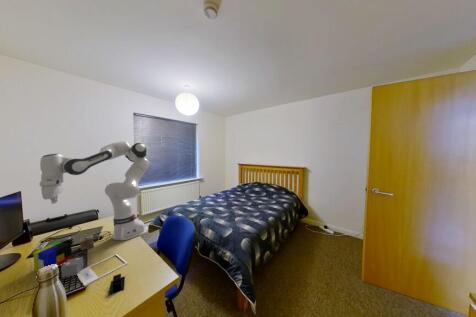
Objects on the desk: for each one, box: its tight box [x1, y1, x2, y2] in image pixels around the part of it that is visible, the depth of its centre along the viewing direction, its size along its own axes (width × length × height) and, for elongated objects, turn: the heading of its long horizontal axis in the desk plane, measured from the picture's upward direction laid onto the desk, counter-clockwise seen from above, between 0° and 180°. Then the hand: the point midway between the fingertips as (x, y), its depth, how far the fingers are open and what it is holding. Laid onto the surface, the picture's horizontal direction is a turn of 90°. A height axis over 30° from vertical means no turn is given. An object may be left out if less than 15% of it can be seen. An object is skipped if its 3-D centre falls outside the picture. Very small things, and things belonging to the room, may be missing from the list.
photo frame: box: [76, 253, 128, 287], centre depth 87 cm, size 15×1×18 cm
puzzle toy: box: [32, 241, 73, 272], centre depth 90 cm, size 10×10×10 cm
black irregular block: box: [108, 273, 126, 296], centre depth 76 cm, size 12×7×5 cm, turn 32°
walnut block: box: [79, 234, 95, 251], centre depth 107 cm, size 6×6×6 cm
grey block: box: [60, 256, 85, 278], centre depth 84 cm, size 6×6×6 cm
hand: (54, 202), depth 100 cm, fingers closed
